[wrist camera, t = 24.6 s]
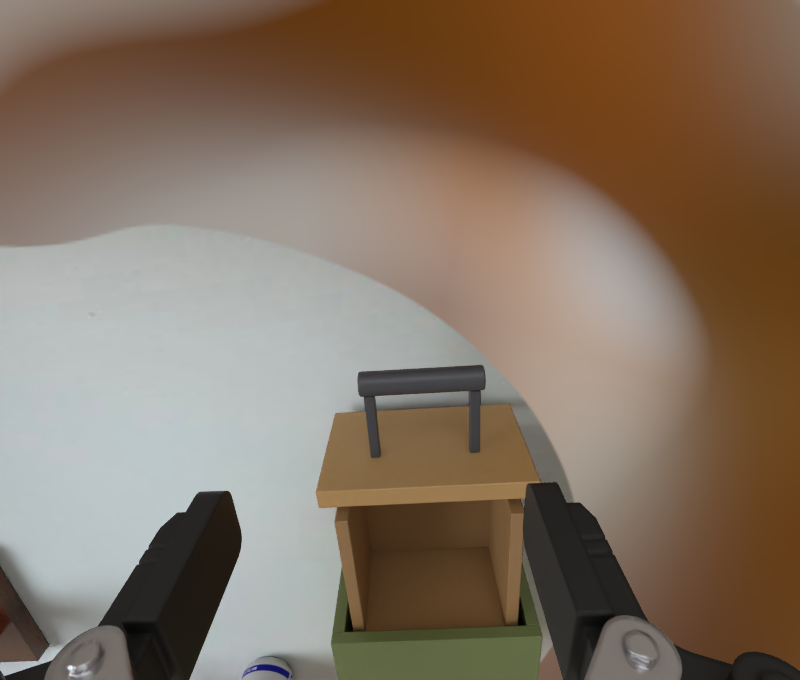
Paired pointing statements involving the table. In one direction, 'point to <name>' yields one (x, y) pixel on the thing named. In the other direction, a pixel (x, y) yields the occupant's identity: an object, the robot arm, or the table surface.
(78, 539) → the table surface
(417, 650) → the cabinet
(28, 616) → the board
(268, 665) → the beverage can
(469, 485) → the drawer
